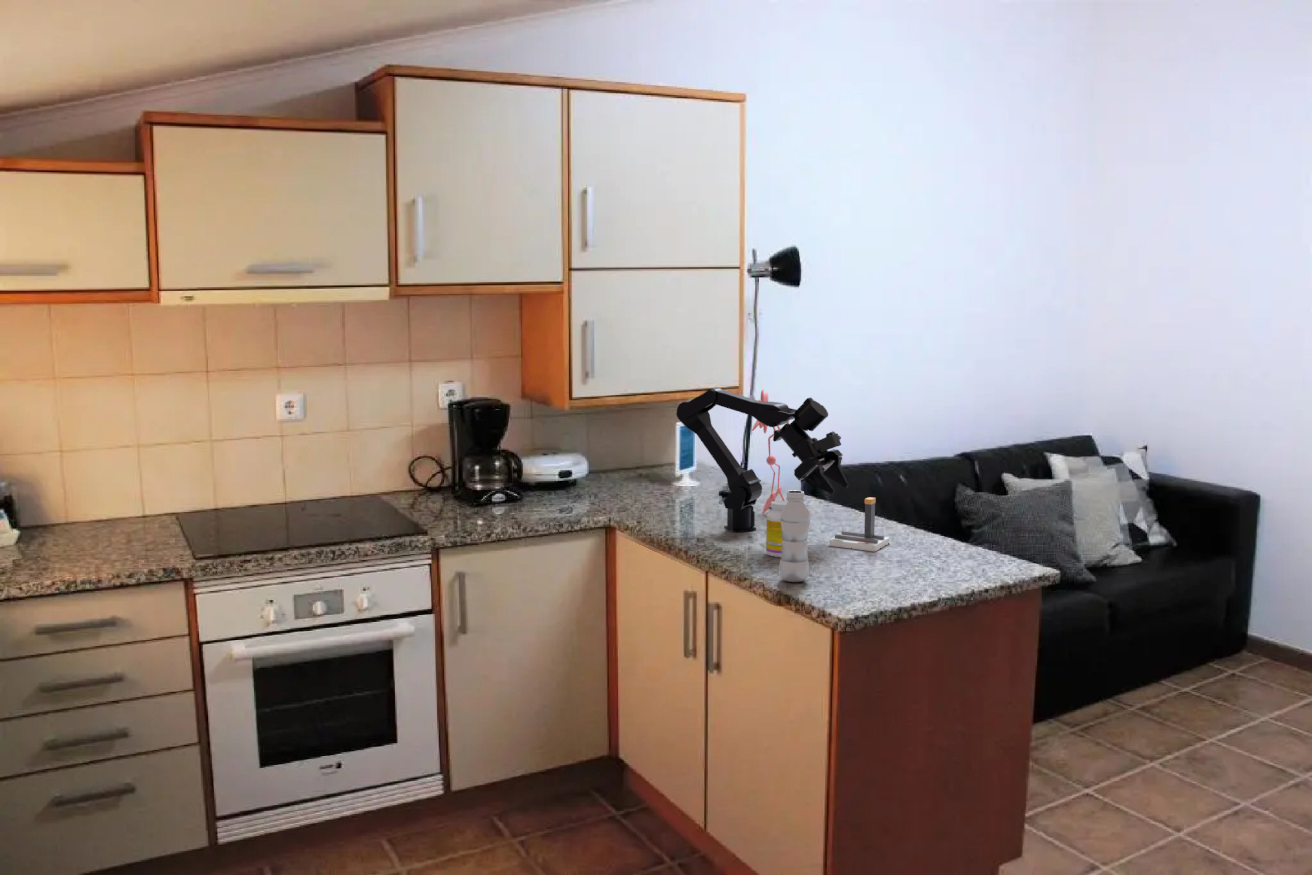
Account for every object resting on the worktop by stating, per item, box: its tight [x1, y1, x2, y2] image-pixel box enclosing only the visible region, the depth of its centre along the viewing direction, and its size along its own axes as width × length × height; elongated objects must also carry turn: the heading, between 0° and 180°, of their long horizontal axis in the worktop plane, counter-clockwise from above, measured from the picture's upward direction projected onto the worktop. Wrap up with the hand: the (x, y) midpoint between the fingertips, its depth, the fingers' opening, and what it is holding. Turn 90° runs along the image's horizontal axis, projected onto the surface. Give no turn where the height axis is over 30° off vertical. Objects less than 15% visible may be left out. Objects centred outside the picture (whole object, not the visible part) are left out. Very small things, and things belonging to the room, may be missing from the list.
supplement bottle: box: [765, 500, 788, 558], centre depth 266 cm, size 7×7×13 cm
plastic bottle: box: [778, 490, 812, 583], centre depth 242 cm, size 6×7×20 cm
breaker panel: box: [828, 530, 890, 552], centre depth 277 cm, size 12×10×2 cm
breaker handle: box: [863, 496, 877, 538], centre depth 275 cm, size 2×3×10 cm, turn 149°
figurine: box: [751, 388, 790, 515], centre depth 317 cm, size 15×26×35 cm, turn 162°
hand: (840, 489), depth 278 cm, fingers open, 9 cm apart
